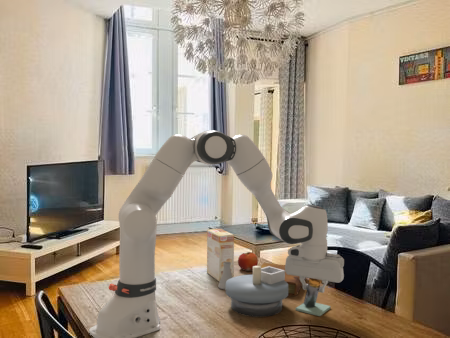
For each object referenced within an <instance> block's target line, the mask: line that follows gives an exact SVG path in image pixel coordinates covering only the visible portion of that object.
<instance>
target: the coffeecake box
mask: <svg viewBox="0 0 450 338" xmlns="http://www.w3.org/2000/svg"><path fill="white" fill-rule="evenodd" d="M206 241H207V242H206V273H208V274H209V276H211V277H212V278H214V280H216V281H217V282H218V283H219V282H220V279H221V277H222V274H223V269H224V264H223V262H231V265H230V270H231V274H232V278H233V277H235V275H234V274H235V273H234V272H235V271H234V270H235V267H234V266H235V262H234V261H235V234H233V233H231V232H229V231H226V230H224V229H222V228H213V229H211V228H210V229H207V230H206Z"/></svg>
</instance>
